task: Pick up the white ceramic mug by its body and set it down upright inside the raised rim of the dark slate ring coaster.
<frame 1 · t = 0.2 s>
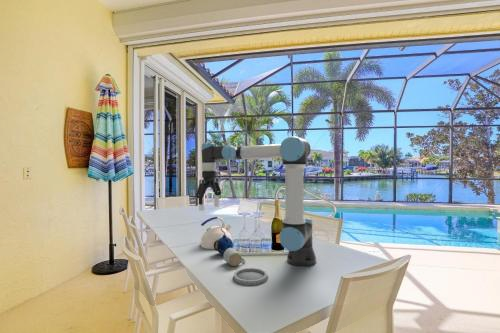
hand: (209, 208, 155), 27 cm above the table, tool pointing down, fingers open, 13 cm apart
kettle: (216, 244, 180), on the table
ceramic mug: (235, 264, 145), on the table
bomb: (223, 254, 161), on the table
ring coaster: (250, 277, 127), on the table
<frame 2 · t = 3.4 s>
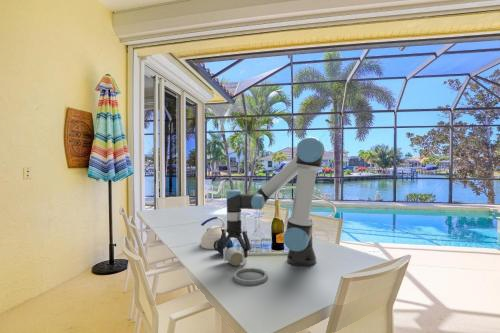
hand: (234, 261, 145), 1 cm above the table, tool pointing down, fingers closed on ceramic mug, 10 cm apart
ceramic mug: (236, 263, 146), on the table, touching gripper
everything else where it was.
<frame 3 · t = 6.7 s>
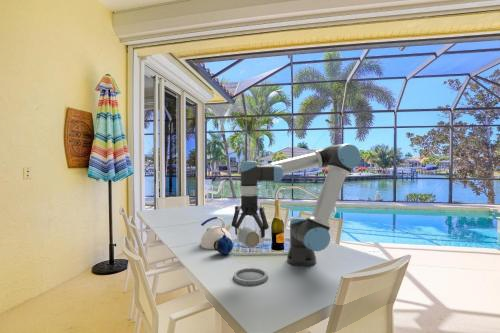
hand: (249, 243, 127), 16 cm above the table, tool pointing down, fingers closed on ceramic mug, 10 cm apart
ceramic mug: (251, 245, 127), point 15 cm above the table, touching gripper
everything else where it was.
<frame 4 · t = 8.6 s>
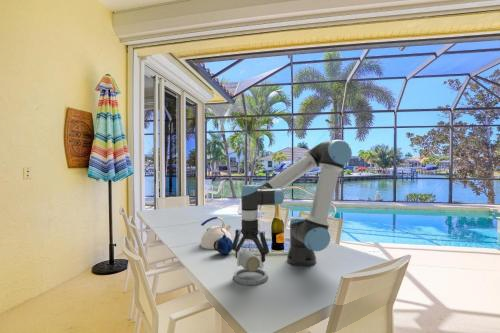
hand: (250, 267, 127), 5 cm above the table, tool pointing down, fingers closed on ceramic mug, 10 cm apart
ceramic mug: (251, 269, 127), point 4 cm above the table, touching gripper
everything else where it was.
when the fingers open (3 cm above the table, at t = 10.1 s): ceramic mug drops 1 cm, resting on ring coaster.
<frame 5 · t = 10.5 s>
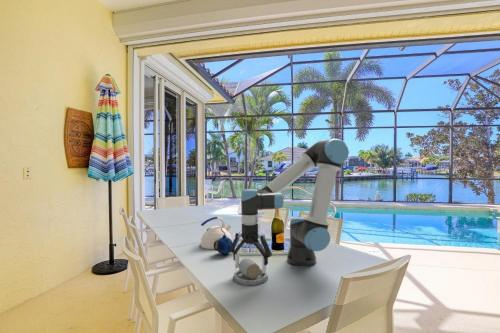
hand: (250, 269, 127), 4 cm above the table, tool pointing down, fingers open, 13 cm apart
ceramic mug: (252, 276, 128), resting on ring coaster
everything else where it was.
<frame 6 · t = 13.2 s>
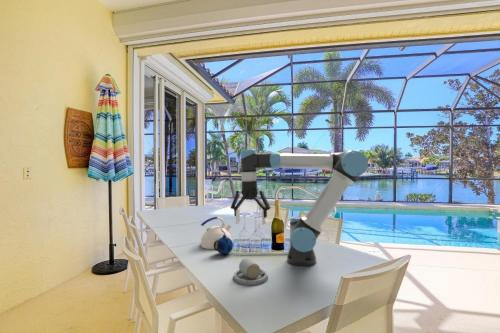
hand: (250, 223, 137), 22 cm above the table, tool pointing down, fingers open, 13 cm apart
nothing on the table moved.
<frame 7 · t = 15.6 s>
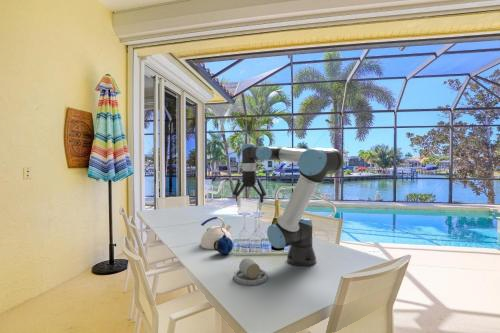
hand: (249, 207, 160), 27 cm above the table, tool pointing down, fingers open, 13 cm apart
nothing on the table moved.
at the end: ceramic mug 1.0 cm off-centre on the ring coaster, point 0.3 cm above the ring coaster's base; ceramic mug tilted 0°; the gripper is holding nothing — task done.
